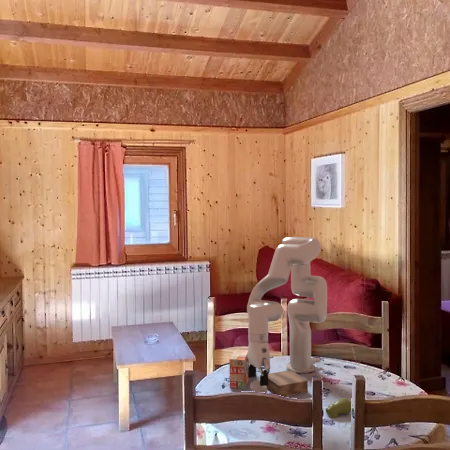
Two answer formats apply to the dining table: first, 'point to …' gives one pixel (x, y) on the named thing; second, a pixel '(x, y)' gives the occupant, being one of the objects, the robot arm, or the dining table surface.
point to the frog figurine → (257, 386)
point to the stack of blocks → (238, 369)
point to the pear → (339, 408)
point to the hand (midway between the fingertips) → (257, 381)
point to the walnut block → (287, 383)
